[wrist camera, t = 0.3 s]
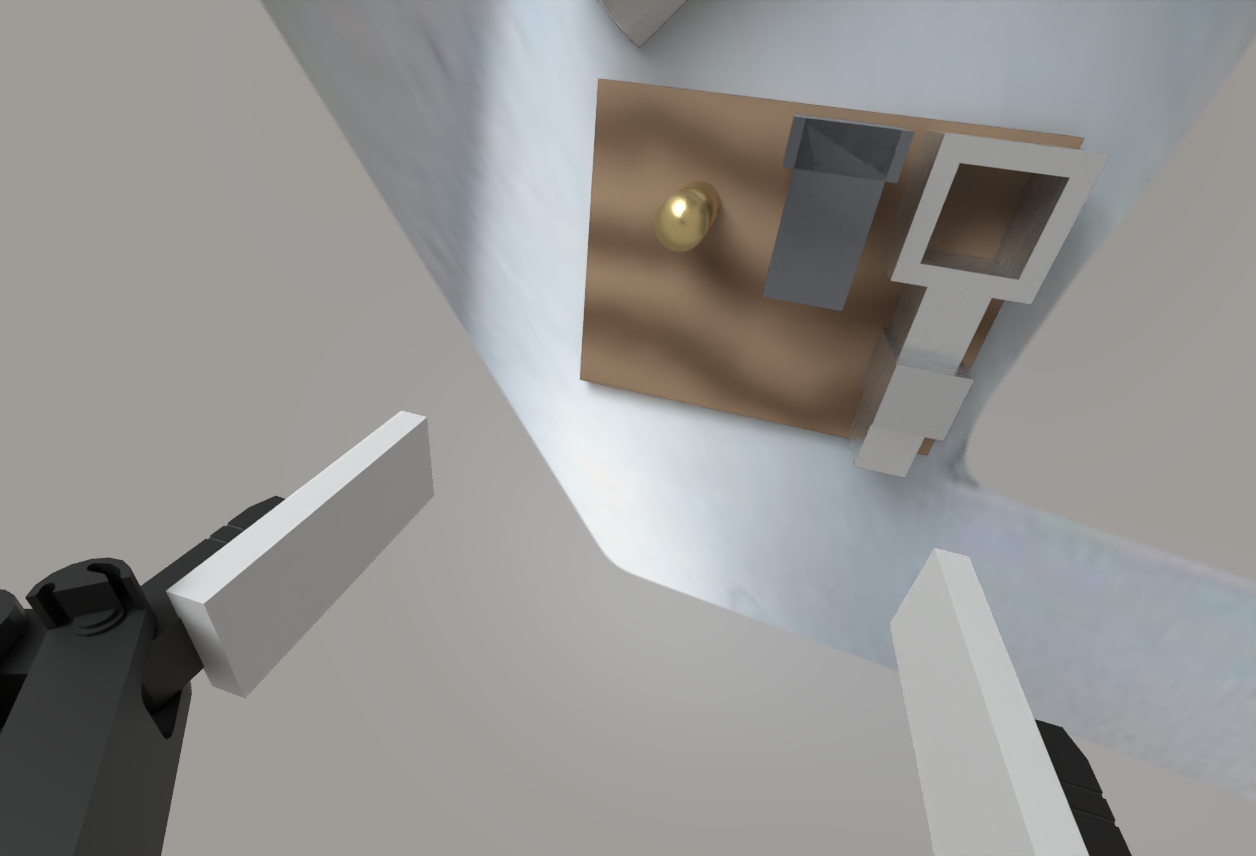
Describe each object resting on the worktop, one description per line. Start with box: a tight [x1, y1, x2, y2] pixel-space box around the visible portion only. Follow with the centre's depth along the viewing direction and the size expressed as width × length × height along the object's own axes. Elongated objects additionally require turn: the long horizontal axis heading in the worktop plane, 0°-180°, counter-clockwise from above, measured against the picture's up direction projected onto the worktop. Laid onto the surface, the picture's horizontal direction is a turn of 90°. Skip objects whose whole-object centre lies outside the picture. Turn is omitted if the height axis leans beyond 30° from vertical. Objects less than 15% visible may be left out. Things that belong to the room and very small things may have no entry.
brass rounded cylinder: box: [654, 181, 720, 252], centre depth 32 cm, size 3×3×8 cm
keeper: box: [762, 113, 915, 311], centre depth 29 cm, size 8×5×9 cm, turn 173°
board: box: [580, 79, 1084, 455], centre depth 35 cm, size 20×26×1 cm
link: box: [848, 130, 1110, 478], centre depth 31 cm, size 19×7×6 cm, turn 173°
